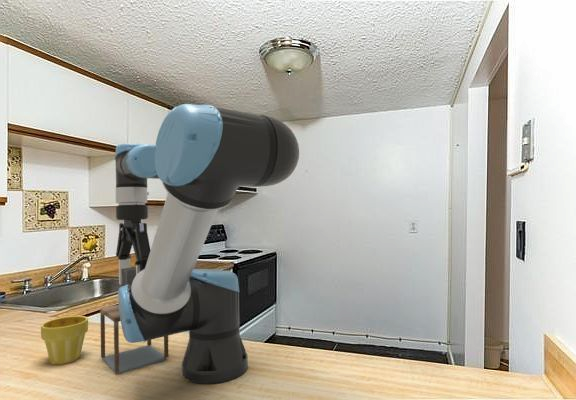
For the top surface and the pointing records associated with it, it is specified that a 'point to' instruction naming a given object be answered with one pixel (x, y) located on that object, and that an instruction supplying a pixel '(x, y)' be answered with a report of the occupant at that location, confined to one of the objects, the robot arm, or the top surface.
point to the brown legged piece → (114, 315)
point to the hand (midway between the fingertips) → (133, 287)
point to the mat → (135, 358)
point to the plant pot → (64, 338)
